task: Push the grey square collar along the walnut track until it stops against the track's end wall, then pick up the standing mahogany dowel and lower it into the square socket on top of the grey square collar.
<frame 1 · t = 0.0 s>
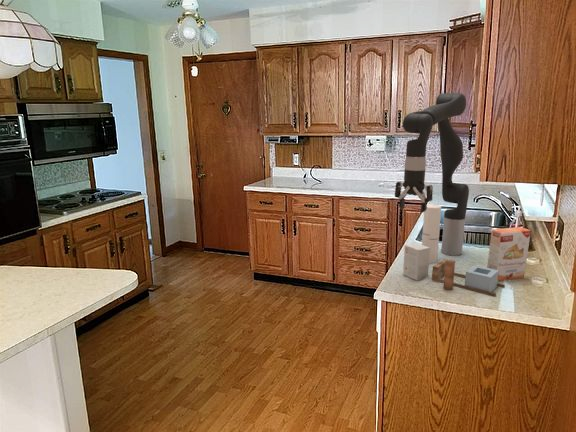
hand: (412, 210, 172), 29 cm above the worktop, tool pointing down, fingers open, 8 cm apart
grey square collar: (481, 279, 169), point 4 cm above the worktop, slide at 0.0 cm
track: (467, 286, 173), on the worktop
cracker box: (504, 279, 180), on the worktop
small box: (415, 276, 184), on the worktop
dowel: (447, 291, 169), on the worktop
cylindrical container: (428, 260, 203), on the worktop
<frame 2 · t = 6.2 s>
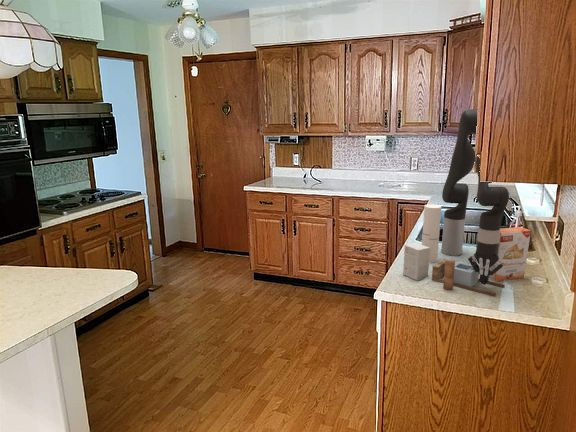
hand: (483, 283, 169), 3 cm above the worktop, tool pointing down, fingers closed
grey square collar: (462, 274, 174), point 4 cm above the worktop, slide at 7.0 cm, touching hand
everything else where it was.
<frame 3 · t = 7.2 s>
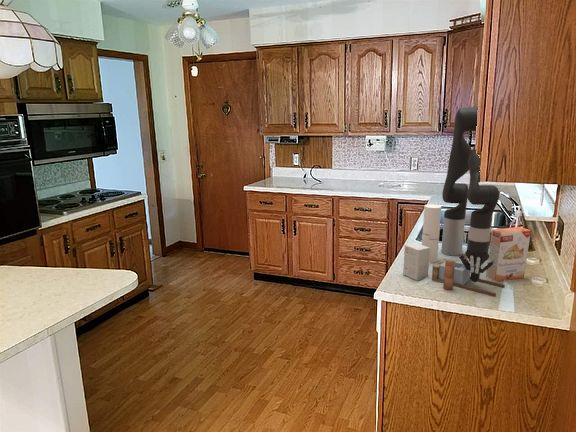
hand: (474, 281, 171), 3 cm above the worktop, tool pointing down, fingers closed
grey square collar: (454, 272, 176), point 4 cm above the worktop, slide at 10.2 cm, touching hand
everything else where it was.
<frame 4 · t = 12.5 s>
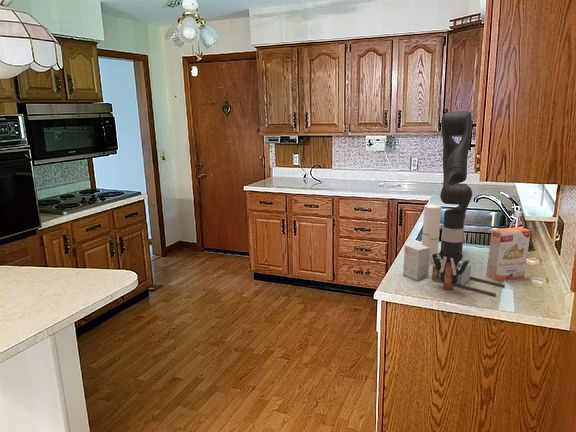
hand: (448, 282, 169), 4 cm above the worktop, tool pointing down, fingers closed on dowel, 3 cm apart
grey square collar: (454, 272, 176), point 4 cm above the worktop, slide at 10.3 cm
dowel: (447, 291, 169), on the worktop, touching gripper
everything else where it was.
when the fingers open (8 cm above the worktop, at t = 17.5 s): dowel drops 1 cm, resting on grey square collar.
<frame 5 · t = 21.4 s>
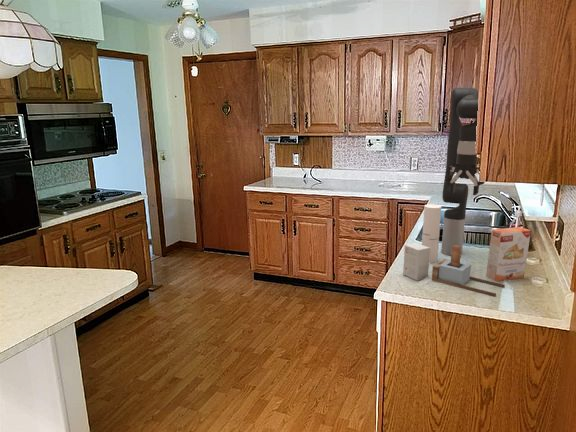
hand: (463, 193, 177), 34 cm above the worktop, tool pointing down, fingers open, 8 cm apart
grey square collar: (454, 272, 176), point 4 cm above the worktop, slide at 10.3 cm, touching dowel
dowel: (454, 275, 176), point 3 cm above the worktop, touching grey square collar
everything else where it was.
at the end: grey square collar slide at 10.3 cm; dowel 0.1 cm off-centre on the grey square collar, point 2.0 cm above the grey square collar's base; dowel tilted 0° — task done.
